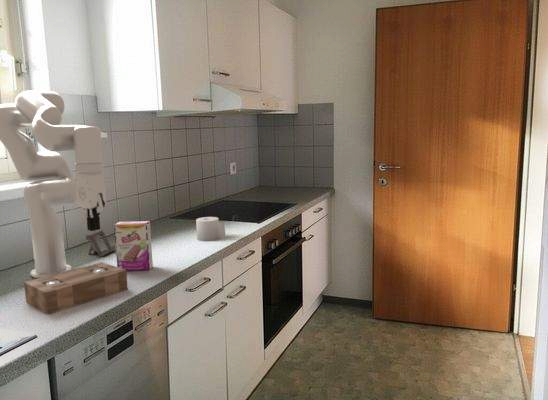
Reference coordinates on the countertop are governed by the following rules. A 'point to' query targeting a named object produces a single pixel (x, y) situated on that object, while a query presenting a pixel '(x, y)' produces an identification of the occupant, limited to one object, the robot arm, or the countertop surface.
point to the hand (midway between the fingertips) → (93, 229)
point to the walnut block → (75, 287)
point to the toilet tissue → (209, 229)
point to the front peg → (52, 282)
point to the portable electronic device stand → (95, 240)
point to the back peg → (98, 270)
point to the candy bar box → (133, 245)
